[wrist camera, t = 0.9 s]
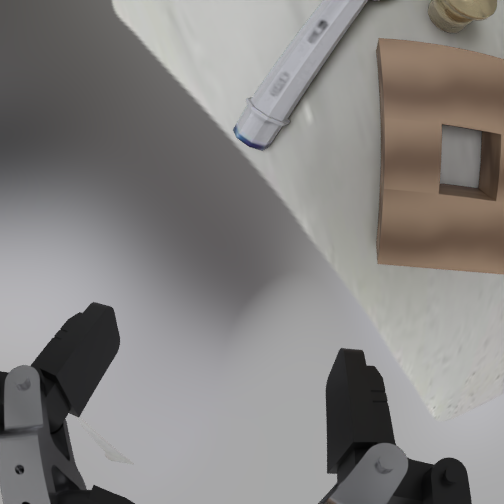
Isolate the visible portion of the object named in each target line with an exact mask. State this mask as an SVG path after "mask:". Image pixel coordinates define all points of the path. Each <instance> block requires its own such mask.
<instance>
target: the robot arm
mask: <svg viewBox="0 0 504 504" xmlns="http://www.w3.org/2000/svg"><path fill="white" fill-rule="evenodd" d="M119 345H120V336H119V332H118V328H117V322H116V318H115V313H114V310H113V308H112V307H110V306H106V305H102V304H99V303H94V302H93V303H91V304H90V305H89V306H88V308H87V309H86V310H85V311H84V312H83V313H80V312H79V313H78V314H76V315H75V316H73V317H71V318H70V319H68V320H67V321H66V323H65V324H64V325H63V326H62V328H61V330H59V331H58V332H57V333H56V335H55V337H54V338H52V339H51V341H50V342H49V343H48V344H47V346H46V347H45V348H44V349H43V351H42V352H41V353H40V355H39V356H38V357H37V358H36V359H35V361H34V362H33V363H32V364H31V366H27V365H22V366H18V367H16V368H14V369H13V370H11V371H10V372H9V373H7V372H1V371H0V487H1V493H2V499H3V504H135V503H133V502H131V501H130V500H128V499H127V498H125V497H122V496H119V495H117V494H114V493H112V492H109V491H107V490H104V489H102V488H100V487H98V486H95V485H94V486H93V488H92V490H87V489H86V486H85V483H84V480H83V478H82V476H81V474H80V472H79V471H78V469H77V466H76V464H75V460H74V455H73V451H72V446H71V442H70V437H69V432H68V427H67V422H66V419H65V418H66V416H67V415H68V413H70V414H72V415H75V416H77V417H80V415H81V413H82V411H83V409H84V408H85V406H86V404H87V402H88V401H89V398H90V397H91V396H92V394H93V392H94V390H95V389H96V387H97V385H98V384H99V382H100V380H101V378H102V377H103V375H104V373H105V372H106V370H107V369H108V367H109V365H110V364H111V362H112V360H113V359H114V357H115V355H116V354H117V352H118V349H119ZM326 416H327V473H332V474H335V473H336V474H337V483H336V484H335V486H334V487H333V488H332V489H331V490H330V491H329V492H328V493H327V495H326V496H325V497H324V498H323V499H322V500H321V501H320V502H319V503H318V504H472V503H471V495H470V488H469V482H468V475H467V471H466V468H465V467H464V465H463V464H462V463H461V462H460V461H458V460H457V459H454V458H444V459H441V460H440V461H438V462H437V463H436V464H435V465H433V464H428V463H424V462H419V461H415V460H411V459H409V458H407V457H406V454H405V453H404V452H403V451H402V450H401V449H400V448H399V447H398V446H396V444H395V440H394V435H393V428H392V422H391V417H390V412H389V406H388V403H387V396H386V393H385V386H384V382H383V378H382V376H381V375H380V373H379V372H378V370H377V369H376V367H375V366H366V361H365V356H364V352H363V351H362V350H355V349H344V348H341V349H340V350H339V352H338V355H337V357H336V360H335V362H334V364H333V367H332V369H331V372H330V374H329V377H328V380H327V385H326Z"/></svg>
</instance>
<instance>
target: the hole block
mask: <svg viewBox="0 0 504 504" xmlns="http://www.w3.org/2000/svg"><path fill="white" fill-rule="evenodd" d="M376 53H377V64H378V77H379V93H380V116H381V174H380V199H379V216H378V229H377V241H376V246H377V261H378V264H386V265H398V266H410V267H422V268H434V269H446V270H458V271H470V272H482V273H494V274H504V59H501V58H497V57H494V56H490V55H486V54H482V53H478V52H473V51H469V50H464V49H460V48H454V47H449V46H443V45H437V44H431V43H424V42H416V41H407V40H397V39H384V38H379V40H378V45H377V49H376ZM442 125H449V126H456V127H462V128H468V129H474V130H479V131H482V145H481V164H480V177H479V188H471V187H464V186H456V185H448V184H440V169H441V145H442Z"/></svg>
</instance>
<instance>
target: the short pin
mask: <svg viewBox="0 0 504 504" xmlns="http://www.w3.org/2000/svg"><path fill="white" fill-rule="evenodd" d="M496 7H497V0H432V1H431V3H430V5H429V7H428V14H429V17H430V19H431V20H432V22H433V23H434V24H435V25H436V26H437V27H438V28H439V29H441V30H443V31H445V32H448V33H457V32H459V31H461V30H462V29H463V28H464V27H465V26H467V25H468V24H469V23H470V22H471V21H473V20H476V21H480V20H485V19H487V18H488V17H489V16H491V15H492V14H493V13H494V12H495V10H496Z"/></svg>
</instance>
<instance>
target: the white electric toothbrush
mask: <svg viewBox="0 0 504 504" xmlns="http://www.w3.org/2000/svg"><path fill="white" fill-rule="evenodd" d="M367 1H368V0H323V2H322V3H321V4H320V5H319V7H318V8H317V9H316V10H315V12H314V13H313V14H312V15H311V17H310V18H309V19H308V21H307V22H306V23H305V24H304V26H303V27H302V28H301V30H300V31H299V32H298V34H297V35H296V36H295V38H294V39H293V40H292V42H291V43H290V44H289V46H288V47H287V48H286V50H285V51H284V52H283V54H282V55H281V57H280V58H279V59H278V61H277V62H276V64H275V65H274V66H273V68H272V69H271V71H270V72H269V74H268V75H267V76H266V78H265V79H264V81H263V82H262V84H261V85H260V87H259V88H258V90H257V91H256V92H255V94H254V95H253V97H251V98H247V99H246V102H247V104H248V105H247V107H246V108H245V110H244V112H243V113H242V115H241V117H240V118H239V120H238V122H237V124H236V125H235V127H234V129H233V131H234V133H235V135H236V138H238V139H239V140H241V141H242V142H243V143H245V144H246V145H247V146H249V147H252V148H255V149H258V150H261V151H263V150H265V149H266V148H268V147H269V145H270V144H271V142H272V141H273V139H274V138H275V136H276V135H277V133H278V132H279V130H280V129H281V127H282V126H284V125H287V124H289V122H290V120H289V119H288V117H289V116H290V114H291V112H292V111H293V109H294V108H295V106H296V105H297V103H298V102H299V100H300V99H301V97H302V96H303V94H304V92H305V91H306V89H307V88H308V86H309V85H310V83H311V82H312V80H313V79H314V77H315V76H316V74H317V73H318V71H319V70H320V68H321V67H322V66H323V64H324V63H325V61H326V60H327V58H328V57H329V55H330V54H331V52H332V51H333V49H334V48H335V47H336V45H337V44H338V42H339V41H340V39H341V38H342V36H343V35H344V34H345V32H346V31H347V29H348V28H349V26H350V25H351V24H352V22H353V21H354V19H355V18H356V17H357V15H358V14H359V12H360V11H361V10H362V8H363V7H364V5H365V4H366V3H367ZM374 1H380V0H374Z"/></svg>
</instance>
